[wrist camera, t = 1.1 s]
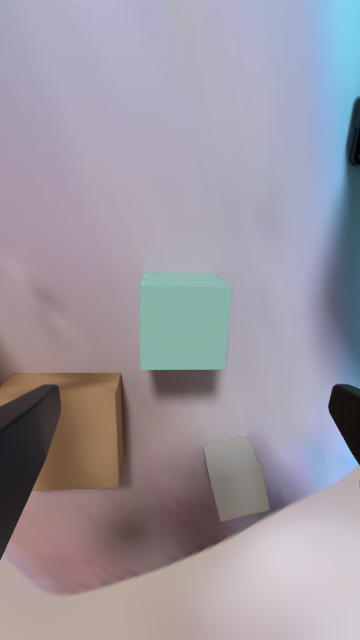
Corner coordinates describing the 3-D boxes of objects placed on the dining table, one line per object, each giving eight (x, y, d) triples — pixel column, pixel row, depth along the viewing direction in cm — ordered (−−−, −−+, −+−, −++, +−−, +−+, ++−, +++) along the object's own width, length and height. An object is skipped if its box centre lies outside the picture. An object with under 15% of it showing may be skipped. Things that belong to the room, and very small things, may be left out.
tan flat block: (121, 370, 22) (115, 395, 19) (124, 452, 24) (118, 487, 21) (15, 371, 21) (-11, 397, 18) (29, 455, 24) (8, 491, 20)
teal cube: (214, 273, 20) (232, 287, 15) (209, 338, 21) (224, 369, 17) (144, 272, 19) (139, 285, 15) (144, 338, 21) (140, 369, 16)
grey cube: (246, 434, 24) (263, 471, 21) (253, 468, 26) (269, 509, 22) (202, 445, 24) (210, 484, 21) (211, 479, 26) (220, 522, 22)
